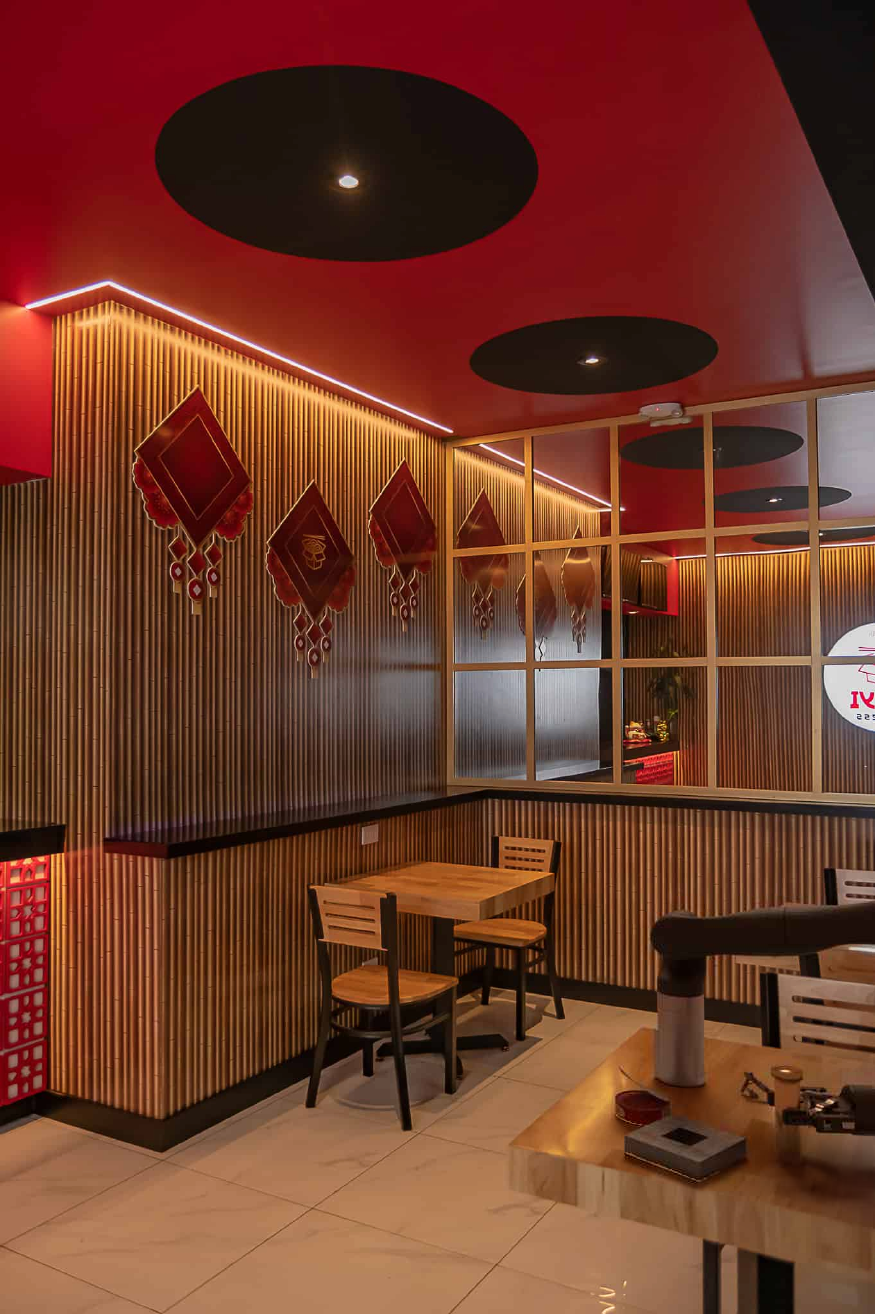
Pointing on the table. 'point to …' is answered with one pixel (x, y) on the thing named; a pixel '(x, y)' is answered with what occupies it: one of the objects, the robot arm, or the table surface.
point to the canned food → (641, 1105)
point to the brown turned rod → (751, 1078)
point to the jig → (686, 1146)
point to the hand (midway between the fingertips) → (775, 1107)
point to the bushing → (787, 1099)
